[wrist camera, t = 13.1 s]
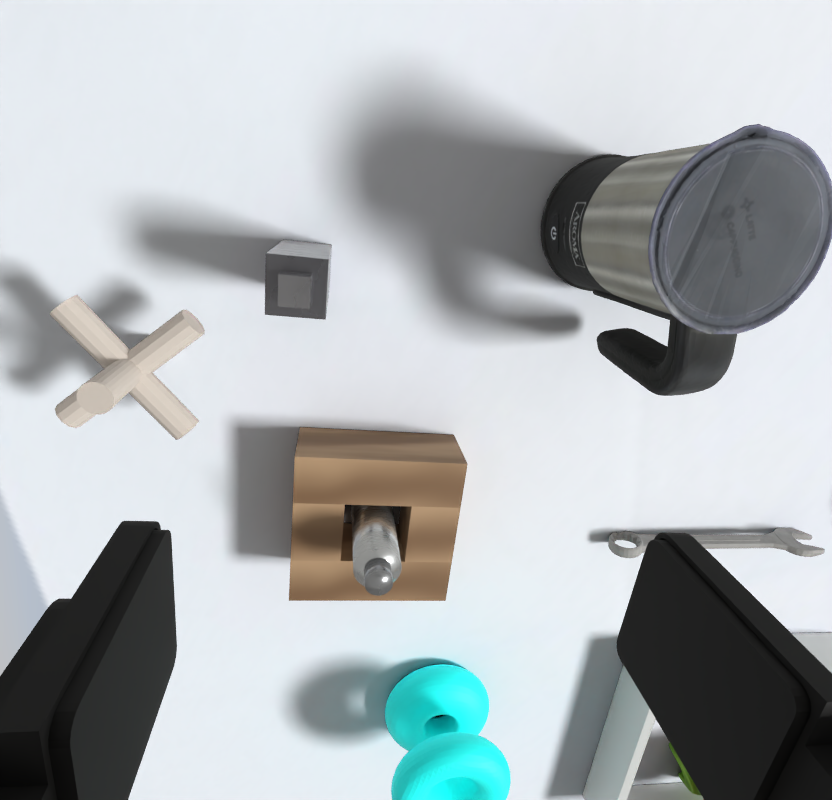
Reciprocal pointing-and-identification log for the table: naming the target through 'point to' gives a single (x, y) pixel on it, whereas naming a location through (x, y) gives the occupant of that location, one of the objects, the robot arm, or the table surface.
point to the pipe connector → (126, 368)
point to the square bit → (297, 279)
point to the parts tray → (630, 731)
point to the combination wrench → (725, 542)
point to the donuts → (444, 738)
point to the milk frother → (692, 245)
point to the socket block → (382, 486)
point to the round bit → (375, 548)
